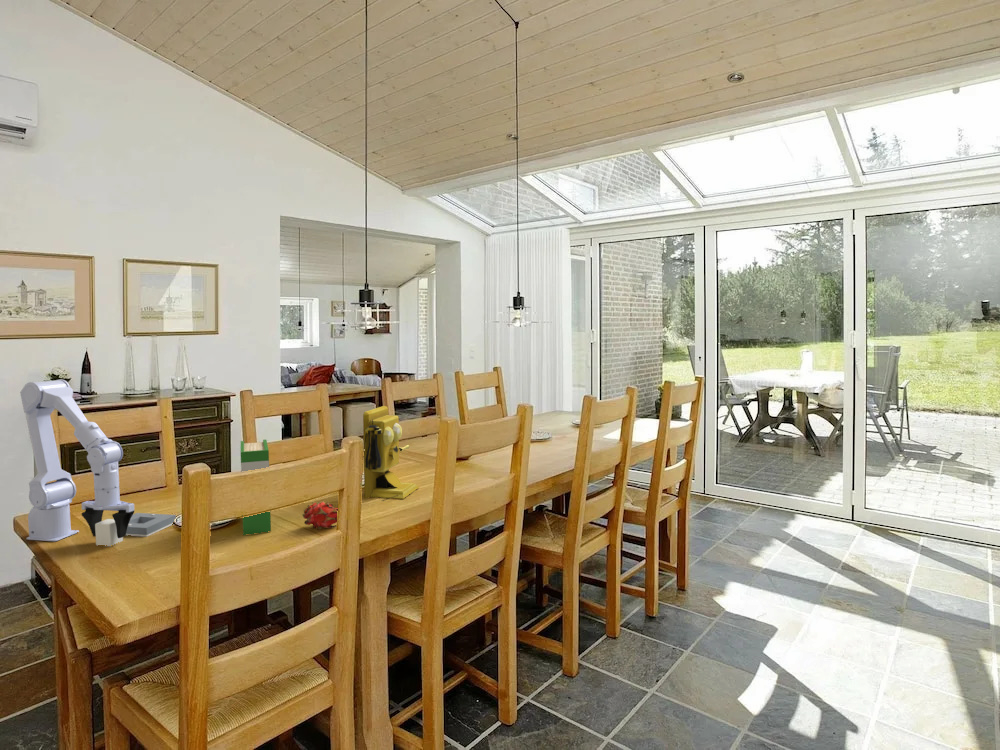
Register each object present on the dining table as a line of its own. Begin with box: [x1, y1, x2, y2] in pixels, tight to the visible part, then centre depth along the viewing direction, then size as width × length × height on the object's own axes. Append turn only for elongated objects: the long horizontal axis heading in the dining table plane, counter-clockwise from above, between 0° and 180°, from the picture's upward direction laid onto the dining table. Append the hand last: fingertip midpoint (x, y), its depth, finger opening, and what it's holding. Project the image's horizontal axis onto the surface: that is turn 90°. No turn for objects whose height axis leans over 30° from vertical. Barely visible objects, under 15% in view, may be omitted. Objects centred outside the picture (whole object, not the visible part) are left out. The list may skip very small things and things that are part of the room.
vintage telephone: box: [362, 405, 420, 502], centre depth 216 cm, size 31×14×30 cm, turn 167°
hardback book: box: [240, 439, 272, 536], centre depth 182 cm, size 18×7×24 cm, turn 23°
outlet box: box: [126, 512, 177, 538], centre depth 179 cm, size 13×12×3 cm
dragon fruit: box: [302, 500, 338, 530], centre depth 180 cm, size 8×8×12 cm
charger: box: [95, 518, 124, 547], centre depth 167 cm, size 4×4×6 cm
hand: (109, 536), depth 167 cm, fingers open, 7 cm apart
